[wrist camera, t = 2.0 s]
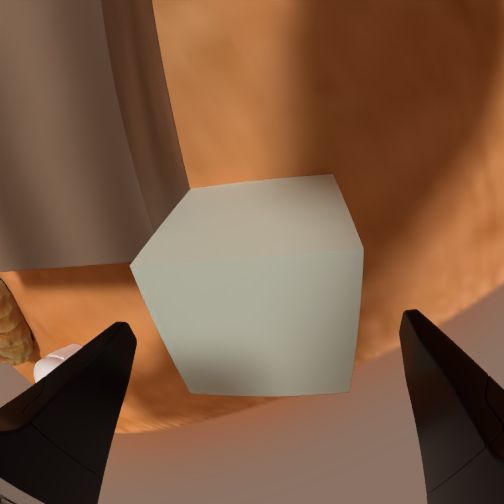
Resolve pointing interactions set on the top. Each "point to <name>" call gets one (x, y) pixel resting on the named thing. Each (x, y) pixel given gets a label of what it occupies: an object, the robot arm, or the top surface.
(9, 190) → the walnut base
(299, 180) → the sage cube
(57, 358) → the muffin
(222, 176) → the top surface
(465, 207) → the top surface
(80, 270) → the top surface
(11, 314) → the pastry
